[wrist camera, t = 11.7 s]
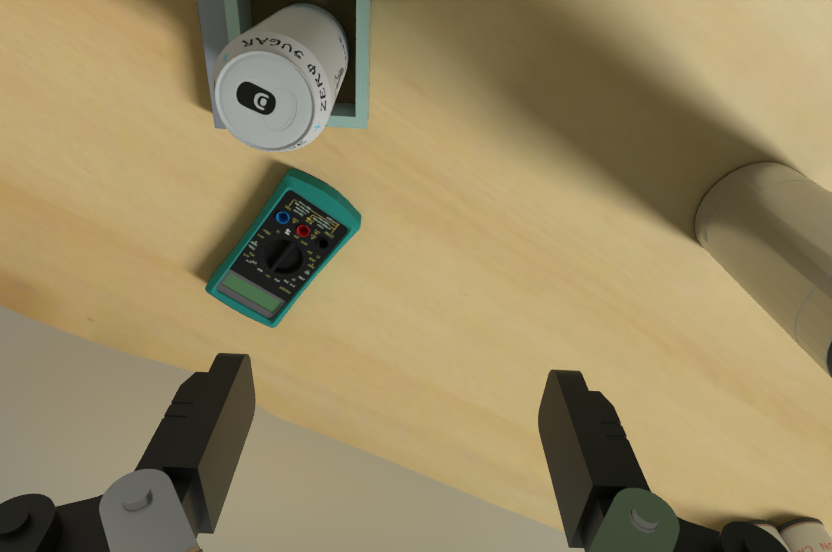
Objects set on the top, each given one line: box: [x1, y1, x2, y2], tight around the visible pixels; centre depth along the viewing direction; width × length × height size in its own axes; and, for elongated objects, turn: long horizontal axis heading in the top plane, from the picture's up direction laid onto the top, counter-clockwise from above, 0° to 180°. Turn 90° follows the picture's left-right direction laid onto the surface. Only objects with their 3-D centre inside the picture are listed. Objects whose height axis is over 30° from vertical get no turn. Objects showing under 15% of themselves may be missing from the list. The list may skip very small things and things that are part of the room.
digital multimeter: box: [205, 168, 361, 328], centre depth 46 cm, size 7×15×3 cm, turn 141°
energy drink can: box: [212, 3, 350, 152], centre depth 32 cm, size 6×6×15 cm
